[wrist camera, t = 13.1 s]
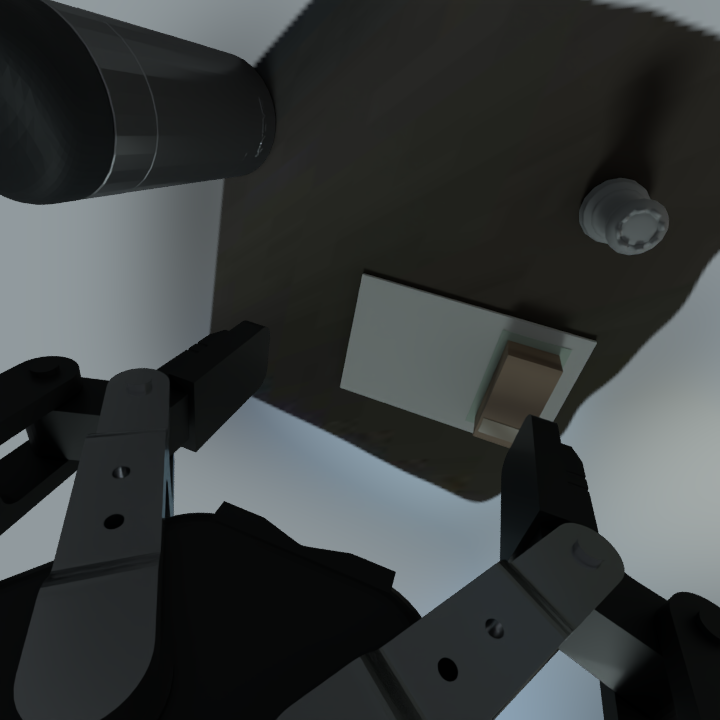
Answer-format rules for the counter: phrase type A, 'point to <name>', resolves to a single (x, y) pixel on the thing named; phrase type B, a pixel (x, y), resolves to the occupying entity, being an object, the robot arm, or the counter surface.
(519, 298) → the counter surface
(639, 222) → the rook chess piece
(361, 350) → the grey mat
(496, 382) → the brown rectangular block
